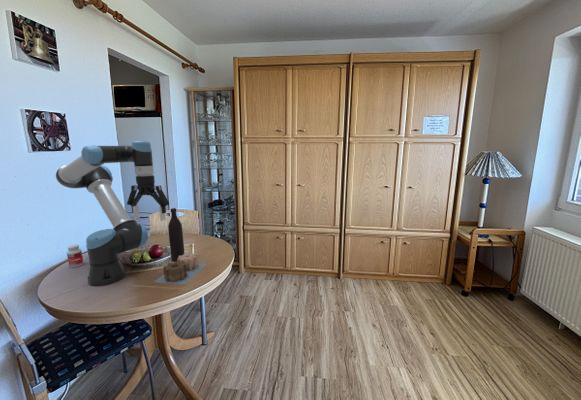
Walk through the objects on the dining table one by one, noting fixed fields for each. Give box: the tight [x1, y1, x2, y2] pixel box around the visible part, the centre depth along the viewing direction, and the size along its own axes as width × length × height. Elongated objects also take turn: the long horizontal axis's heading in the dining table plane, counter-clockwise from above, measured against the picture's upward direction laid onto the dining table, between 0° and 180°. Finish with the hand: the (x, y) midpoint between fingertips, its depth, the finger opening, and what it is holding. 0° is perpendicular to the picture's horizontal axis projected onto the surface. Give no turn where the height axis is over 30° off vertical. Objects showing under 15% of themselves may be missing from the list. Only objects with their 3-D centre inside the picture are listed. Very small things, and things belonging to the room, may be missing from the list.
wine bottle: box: [167, 207, 185, 263], centre depth 147 cm, size 7×7×30 cm
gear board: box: [153, 262, 207, 285], centre depth 133 cm, size 16×22×5 cm
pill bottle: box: [66, 244, 84, 268], centre depth 143 cm, size 6×6×11 cm
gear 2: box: [177, 252, 198, 271], centre depth 138 cm, size 10×10×7 cm
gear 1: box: [163, 261, 187, 282], centre depth 128 cm, size 10×10×6 cm
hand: (150, 219), depth 127 cm, fingers open, 13 cm apart
